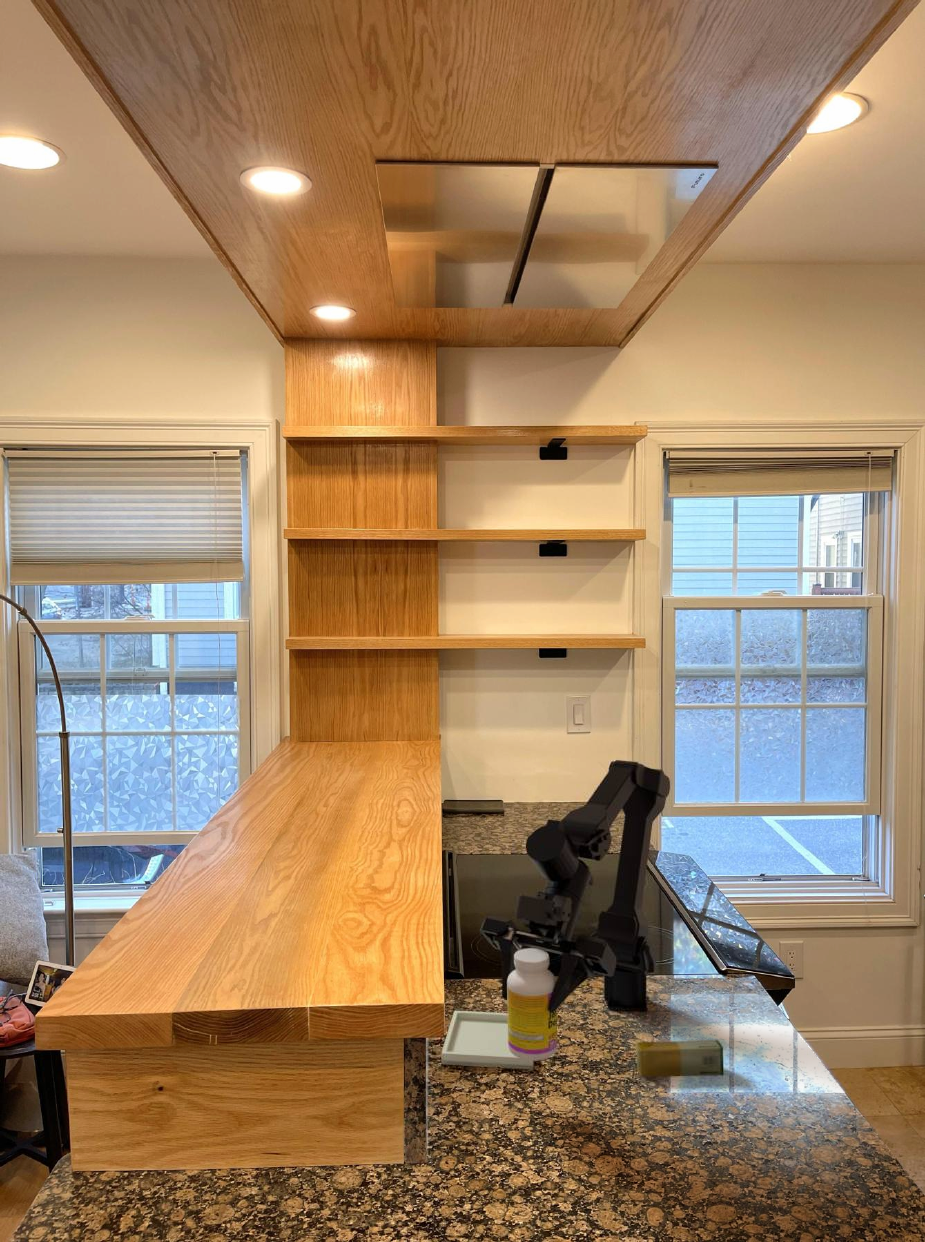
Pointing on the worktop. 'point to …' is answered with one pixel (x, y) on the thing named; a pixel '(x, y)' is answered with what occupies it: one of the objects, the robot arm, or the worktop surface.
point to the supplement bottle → (531, 1006)
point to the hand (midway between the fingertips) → (526, 1005)
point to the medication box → (680, 1058)
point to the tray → (480, 1041)
